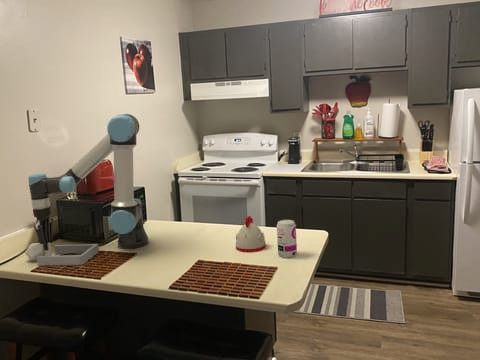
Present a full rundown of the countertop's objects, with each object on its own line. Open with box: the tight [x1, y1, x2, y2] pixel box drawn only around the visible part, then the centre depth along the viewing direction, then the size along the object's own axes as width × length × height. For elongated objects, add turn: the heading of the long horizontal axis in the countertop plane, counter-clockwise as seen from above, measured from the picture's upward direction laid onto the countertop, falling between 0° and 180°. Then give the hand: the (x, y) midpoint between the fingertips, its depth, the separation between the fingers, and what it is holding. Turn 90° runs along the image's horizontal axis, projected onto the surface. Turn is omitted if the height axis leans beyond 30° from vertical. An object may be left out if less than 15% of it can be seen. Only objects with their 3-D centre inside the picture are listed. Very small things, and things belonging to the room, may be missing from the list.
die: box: [24, 242, 45, 262], centre depth 209 cm, size 8×9×10 cm
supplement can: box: [276, 219, 298, 259], centre depth 193 cm, size 8×8×15 cm
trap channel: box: [36, 243, 100, 267], centre depth 208 cm, size 22×17×4 cm
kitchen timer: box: [235, 215, 267, 253], centre depth 207 cm, size 14×14×15 cm
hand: (48, 256), depth 209 cm, fingers closed
